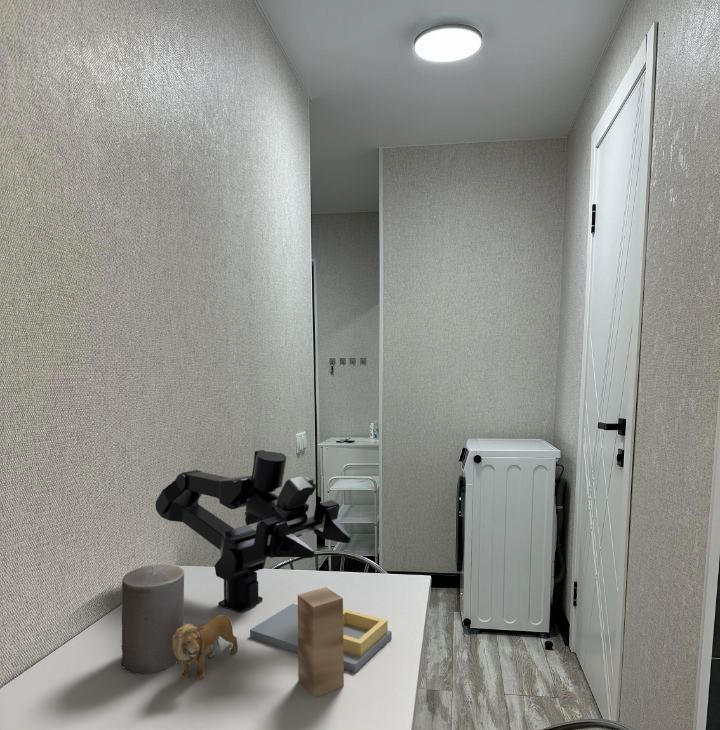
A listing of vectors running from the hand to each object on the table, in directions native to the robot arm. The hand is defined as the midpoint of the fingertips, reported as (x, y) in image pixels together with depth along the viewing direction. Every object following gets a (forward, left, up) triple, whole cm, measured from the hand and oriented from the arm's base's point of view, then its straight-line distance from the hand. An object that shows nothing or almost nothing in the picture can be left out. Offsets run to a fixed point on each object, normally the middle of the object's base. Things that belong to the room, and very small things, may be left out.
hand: (332, 547), depth 90 cm
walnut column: (+5, -10, -17) cm, 20 cm away
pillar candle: (-23, -18, -17) cm, 34 cm away
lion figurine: (-13, -16, -17) cm, 27 cm away
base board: (-3, +1, -17) cm, 17 cm away
